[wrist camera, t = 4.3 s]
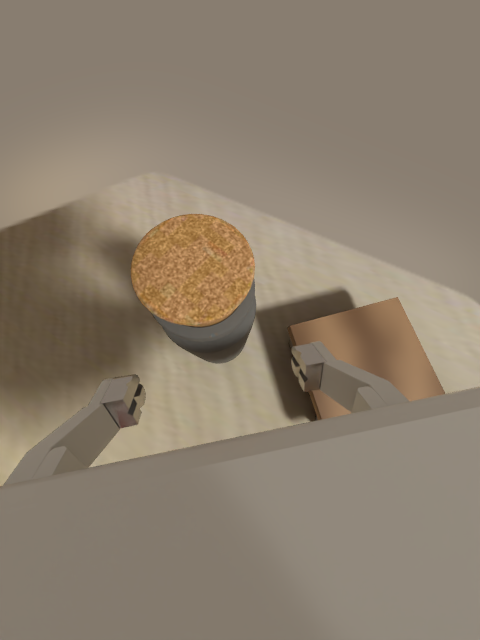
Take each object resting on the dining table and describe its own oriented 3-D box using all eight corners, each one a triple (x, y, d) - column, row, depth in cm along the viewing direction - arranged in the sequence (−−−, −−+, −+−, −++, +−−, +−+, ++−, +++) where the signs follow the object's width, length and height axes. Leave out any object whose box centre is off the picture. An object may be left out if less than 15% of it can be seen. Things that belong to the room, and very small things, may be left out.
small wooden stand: (315, 442, 20) (335, 458, 16) (280, 334, 23) (289, 325, 19) (415, 409, 21) (456, 417, 17) (370, 309, 24) (397, 297, 20)
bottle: (182, 327, 22) (88, 240, 8) (228, 301, 23) (220, 180, 9) (208, 374, 21) (156, 374, 7) (256, 345, 22) (301, 288, 8)
